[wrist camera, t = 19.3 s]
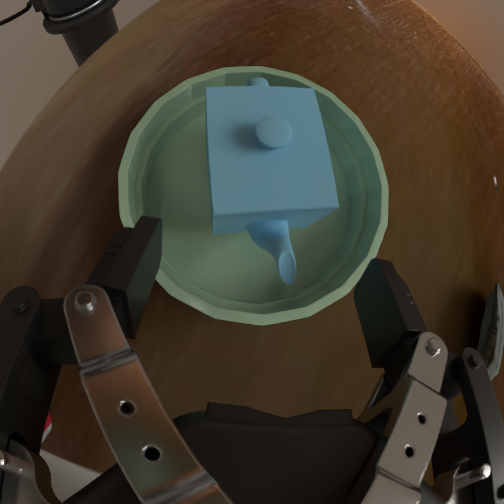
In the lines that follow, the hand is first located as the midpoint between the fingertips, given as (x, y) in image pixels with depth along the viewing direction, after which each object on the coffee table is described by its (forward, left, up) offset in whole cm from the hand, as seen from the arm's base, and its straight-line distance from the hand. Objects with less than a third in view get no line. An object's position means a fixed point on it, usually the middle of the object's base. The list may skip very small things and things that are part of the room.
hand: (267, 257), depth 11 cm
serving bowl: (0, +5, -9) cm, 11 cm away
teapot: (0, +5, -9) cm, 10 cm away
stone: (+27, -4, -9) cm, 29 cm away
